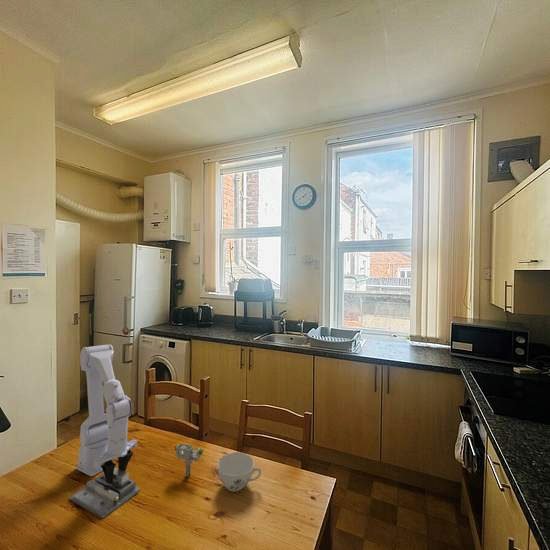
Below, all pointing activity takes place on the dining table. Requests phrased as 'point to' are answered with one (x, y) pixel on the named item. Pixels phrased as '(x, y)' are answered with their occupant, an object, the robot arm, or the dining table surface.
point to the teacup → (236, 470)
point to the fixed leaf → (103, 496)
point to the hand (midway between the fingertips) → (115, 478)
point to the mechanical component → (187, 455)
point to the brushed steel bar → (119, 478)
